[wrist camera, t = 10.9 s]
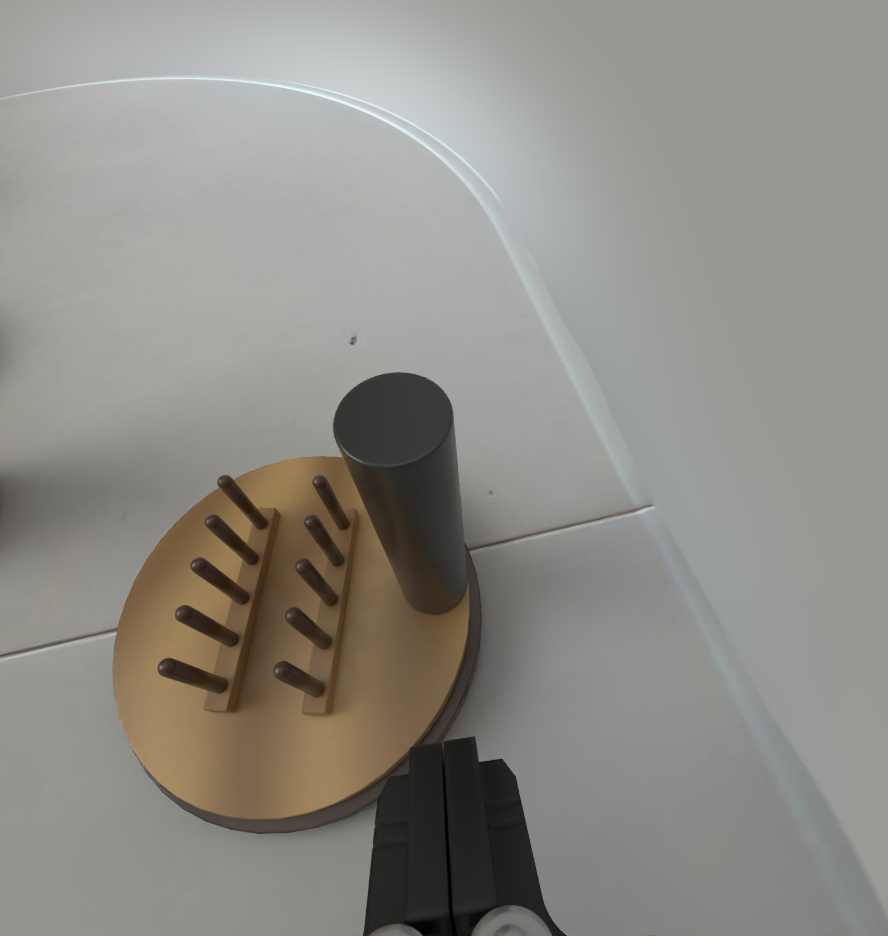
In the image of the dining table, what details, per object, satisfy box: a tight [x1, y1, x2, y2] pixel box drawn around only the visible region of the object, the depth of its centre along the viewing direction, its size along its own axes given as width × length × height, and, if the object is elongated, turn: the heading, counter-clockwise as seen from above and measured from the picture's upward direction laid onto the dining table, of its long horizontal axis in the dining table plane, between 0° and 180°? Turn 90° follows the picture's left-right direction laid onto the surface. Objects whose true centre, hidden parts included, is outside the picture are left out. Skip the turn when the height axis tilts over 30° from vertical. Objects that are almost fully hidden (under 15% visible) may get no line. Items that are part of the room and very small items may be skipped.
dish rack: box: [113, 372, 470, 820], centre depth 18 cm, size 16×16×13 cm
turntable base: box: [133, 542, 481, 834], centre depth 24 cm, size 17×17×1 cm
